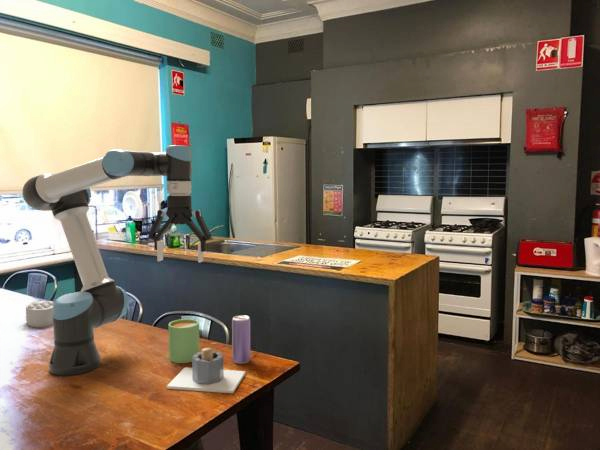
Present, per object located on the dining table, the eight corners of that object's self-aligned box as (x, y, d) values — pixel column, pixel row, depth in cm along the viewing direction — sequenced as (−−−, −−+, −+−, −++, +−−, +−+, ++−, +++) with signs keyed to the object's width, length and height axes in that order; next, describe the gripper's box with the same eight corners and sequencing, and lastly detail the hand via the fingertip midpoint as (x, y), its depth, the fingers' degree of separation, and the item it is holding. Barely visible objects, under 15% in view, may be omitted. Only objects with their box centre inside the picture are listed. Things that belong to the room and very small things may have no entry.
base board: (166, 388, 141) (166, 386, 141) (184, 369, 155) (184, 367, 154) (233, 393, 138) (233, 390, 138) (245, 373, 152) (245, 371, 152)
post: (200, 380, 145) (200, 351, 144) (204, 375, 148) (203, 347, 147) (210, 380, 144) (210, 351, 143) (214, 376, 148) (213, 348, 147)
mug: (206, 357, 166) (205, 323, 164) (180, 365, 158) (179, 330, 157) (185, 348, 174) (184, 315, 173) (159, 355, 167) (158, 321, 165)
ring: (189, 383, 143) (189, 360, 142) (199, 371, 151) (199, 350, 150) (217, 385, 141) (217, 362, 141) (226, 373, 150) (225, 351, 149)
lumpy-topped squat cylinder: (51, 317, 211) (50, 297, 210) (59, 324, 201) (59, 303, 201) (24, 321, 204) (23, 301, 203) (32, 329, 195) (31, 308, 194)
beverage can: (247, 365, 159) (246, 320, 157) (229, 363, 160) (229, 319, 158) (252, 358, 164) (252, 315, 163) (235, 357, 166) (235, 314, 164)
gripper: (136, 194, 150) (138, 261, 152) (213, 195, 147) (214, 264, 149) (147, 194, 158) (148, 258, 160) (220, 194, 154) (221, 260, 156)
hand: (180, 261), depth 154 cm, fingers open, 13 cm apart
